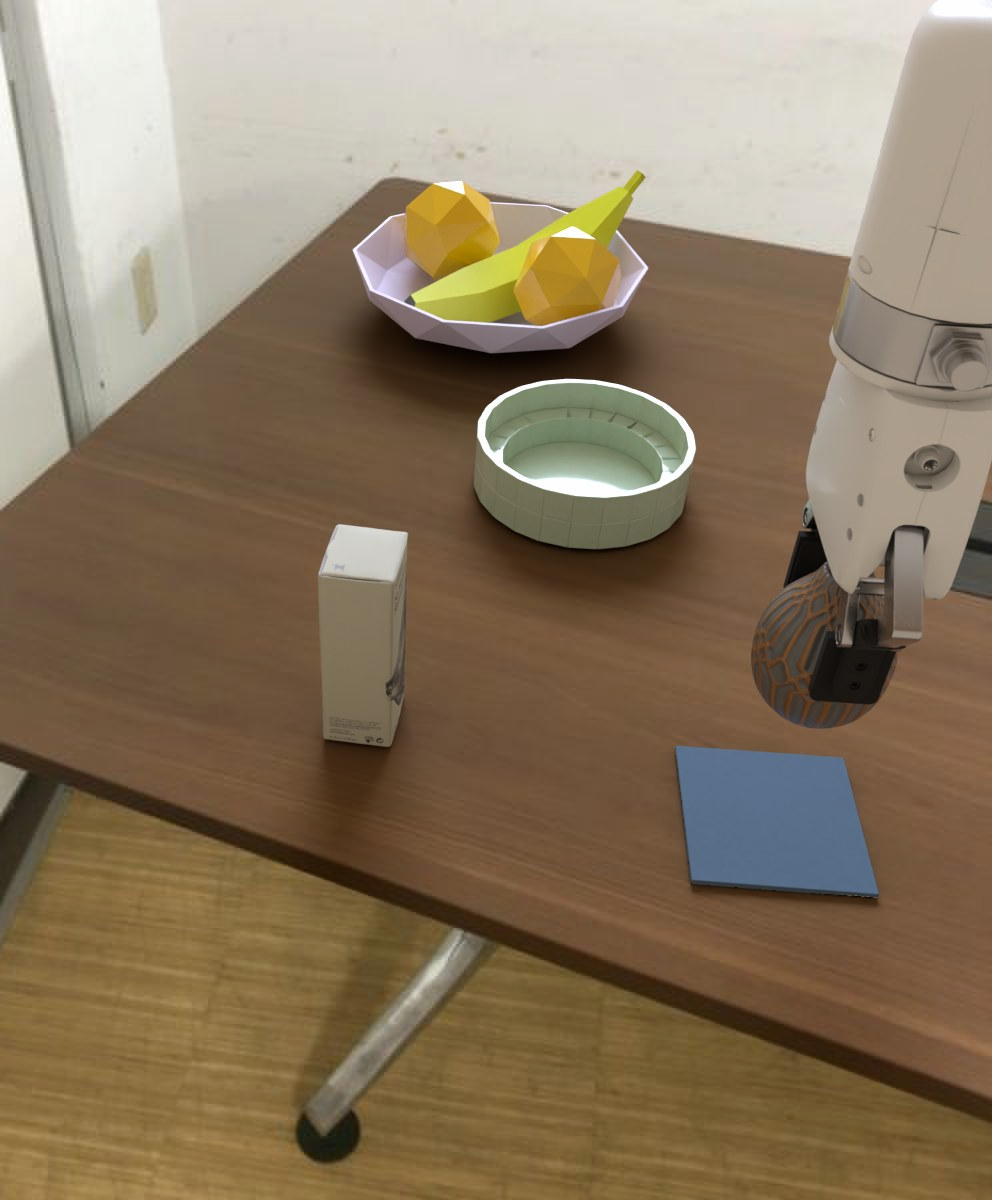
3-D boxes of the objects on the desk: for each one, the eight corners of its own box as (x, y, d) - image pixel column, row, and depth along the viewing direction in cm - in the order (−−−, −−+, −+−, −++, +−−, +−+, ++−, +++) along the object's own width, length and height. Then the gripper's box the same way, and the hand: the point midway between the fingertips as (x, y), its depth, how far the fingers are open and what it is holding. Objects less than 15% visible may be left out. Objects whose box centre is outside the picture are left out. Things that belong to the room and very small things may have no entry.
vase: (757, 642, 69) (792, 513, 63) (885, 681, 66) (934, 552, 61) (725, 722, 64) (760, 591, 58) (862, 767, 62) (913, 636, 56)
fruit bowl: (390, 403, 105) (393, 279, 98) (336, 264, 126) (334, 153, 118) (700, 373, 110) (724, 252, 103) (599, 244, 130) (613, 136, 123)
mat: (842, 761, 75) (843, 757, 75) (877, 899, 67) (879, 894, 67) (674, 749, 75) (675, 745, 75) (690, 884, 68) (691, 879, 67)
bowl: (674, 438, 102) (684, 385, 99) (694, 560, 90) (706, 503, 86) (477, 426, 103) (480, 373, 100) (469, 546, 90) (473, 489, 87)
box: (391, 751, 75) (395, 586, 67) (320, 741, 75) (315, 577, 67) (406, 691, 79) (411, 528, 71) (338, 682, 79) (335, 519, 71)
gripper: (1099, 444, 44) (946, 780, 56) (968, 239, 57) (866, 545, 69) (884, 432, 45) (777, 768, 56) (803, 231, 58) (729, 536, 69)
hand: (827, 642), depth 62 cm, fingers closed on vase, 6 cm apart
